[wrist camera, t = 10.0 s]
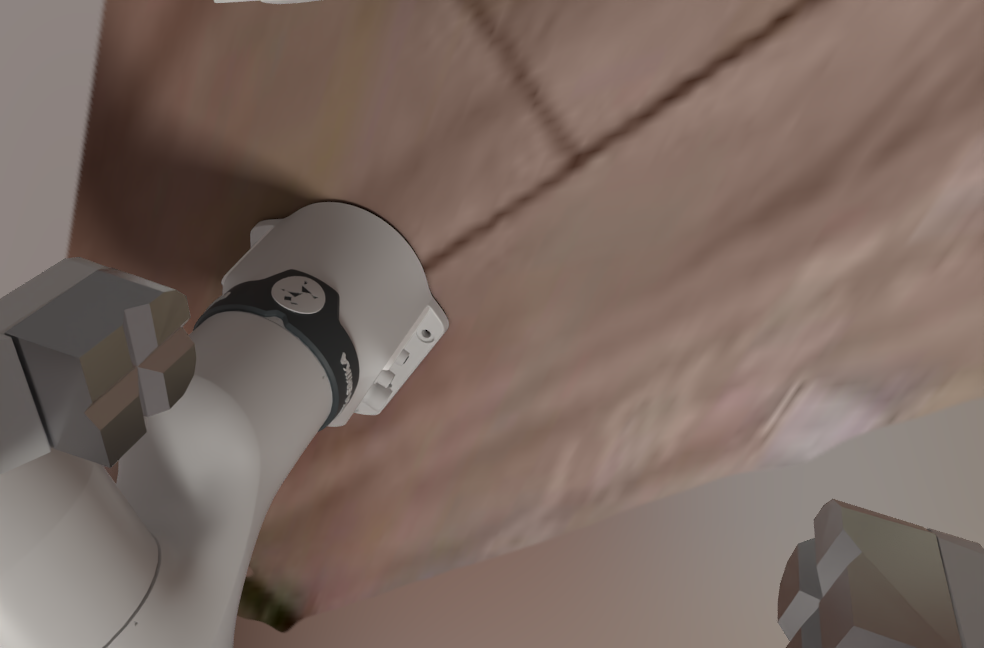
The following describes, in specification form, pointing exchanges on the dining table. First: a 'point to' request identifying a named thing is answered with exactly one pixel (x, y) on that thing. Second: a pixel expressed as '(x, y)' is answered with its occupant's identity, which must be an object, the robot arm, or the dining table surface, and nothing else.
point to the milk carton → (267, 1)
